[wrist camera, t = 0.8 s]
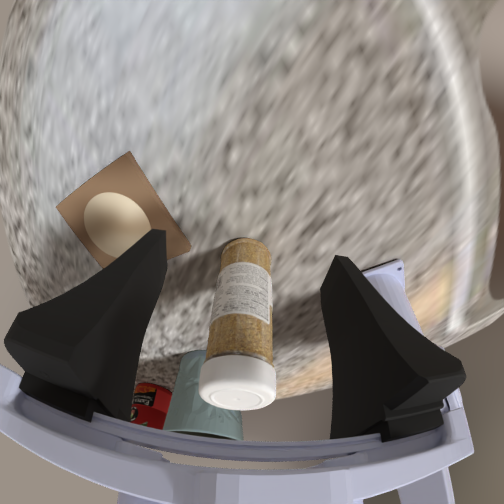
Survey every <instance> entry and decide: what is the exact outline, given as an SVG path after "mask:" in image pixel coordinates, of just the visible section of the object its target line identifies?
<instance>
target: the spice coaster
mask: <svg viewBox="0 0 504 504" xmlns="http://www.w3.org/2000/svg"><path fill="white" fill-rule="evenodd" d="M56 208H57V209H58V211H59V212H60V214H61V215H62V217H63V218H64V219H65V221H66V222H67V223H68V225H69V226H70V228H71V229H72V230H73V232H74V233H75V234H76V236H77V237H78V238H79V239H80V241H81V242H82V243H83V245H84V246H85V247H86V248H87V250H88V251H89V252H90V253H91V255H92V256H93V257H94V258H95V260H96V261H97V262H98V263H99V264H100V266H101V267H102V268H103V269H104V268H105V267H107V266H108V265H109V264H110V263H112V262H113V261H114V260H116V259H117V258H118V257H119V256H121V255H122V254H123V253H124V252H125V251H126V250H128V249H129V248H130V247H131V246H132V245H134V244H135V243H136V242H137V241H138V240H139V239H140V238H142V237H143V236H144V235H145V234H146V233H148V232H149V231H150V230H151V229H159V230H166V248H167V260H168V259H171V258H173V257H176V256H179V255H181V254H184V253H186V252H189V251H190V249H191V245H190V243H189V242H188V240H187V239H186V237H185V236H184V234H183V233H182V231H181V230H180V228H179V227H178V225H177V224H176V222H175V221H174V219H173V218H172V216H171V215H170V213H169V212H168V210H167V209H166V207H165V206H164V204H163V203H162V201H161V200H160V198H159V196H158V195H157V193H156V192H155V190H154V189H153V187H152V186H151V184H150V182H149V181H148V179H147V178H146V176H145V174H144V173H143V171H142V170H141V168H140V166H139V165H138V163H137V162H136V160H135V158H134V157H133V155H132V153H131V152H130V151H129V152H127V153H126V154H124V155H123V156H121V157H120V158H118V159H117V160H115V161H114V162H112V163H111V164H110V165H108V166H107V167H105V168H104V169H103V170H101V171H100V172H99V173H97V174H96V175H94V176H93V177H92V178H90V179H89V180H88V181H87V182H85V183H84V184H83V185H81V186H80V187H79V188H78V189H76V190H75V191H74V192H73V193H71V194H70V195H69V196H68V197H67V198H65V199H64V200H63V201H62V202H61V203H60V204H59V205H57V206H56Z"/></svg>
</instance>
